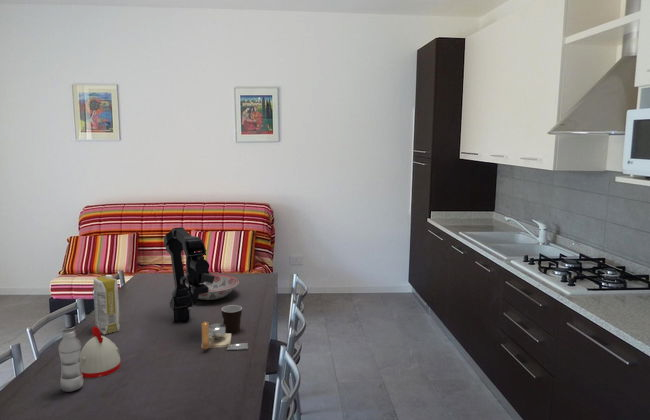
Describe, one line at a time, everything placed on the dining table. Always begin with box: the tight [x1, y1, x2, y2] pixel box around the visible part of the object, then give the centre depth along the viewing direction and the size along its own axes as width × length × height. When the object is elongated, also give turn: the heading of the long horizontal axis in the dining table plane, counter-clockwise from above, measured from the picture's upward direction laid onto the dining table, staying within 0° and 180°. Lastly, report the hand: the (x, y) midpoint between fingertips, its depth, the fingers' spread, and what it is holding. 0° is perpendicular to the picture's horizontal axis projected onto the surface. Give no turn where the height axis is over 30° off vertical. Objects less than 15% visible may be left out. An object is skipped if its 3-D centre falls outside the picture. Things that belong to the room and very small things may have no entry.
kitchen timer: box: [80, 325, 122, 379], centre depth 165 cm, size 14×14×15 cm
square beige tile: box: [200, 333, 232, 349], centre depth 189 cm, size 11×11×3 cm
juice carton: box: [92, 274, 121, 336], centre depth 197 cm, size 9×8×24 cm
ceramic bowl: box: [185, 273, 240, 301], centre depth 242 cm, size 29×29×8 cm
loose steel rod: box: [226, 342, 249, 351], centre depth 183 cm, size 8×2×2 cm
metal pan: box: [201, 321, 226, 350], centre depth 185 cm, size 14×7×10 cm, turn 165°
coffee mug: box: [221, 304, 243, 335], centre depth 201 cm, size 12×9×10 cm
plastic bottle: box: [57, 328, 84, 393], centre depth 151 cm, size 6×7×20 cm
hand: (194, 304), depth 194 cm, fingers closed
